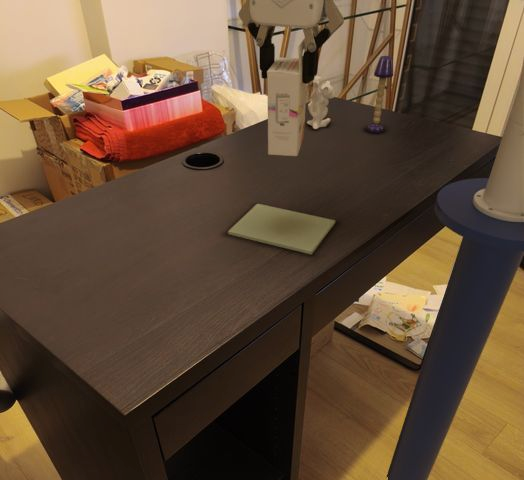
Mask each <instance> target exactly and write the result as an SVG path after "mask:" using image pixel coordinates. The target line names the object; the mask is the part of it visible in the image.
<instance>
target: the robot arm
mask: <svg viewBox="0 0 524 480" xmlns="http://www.w3.org/2000/svg"><path fill="white" fill-rule="evenodd" d="M238 17H239V19H240V20H241V22H242V23H243V25H245V27H247V30H248V33H249V34H250V35H251V36H252V38H253V39H254V40H255V44H256V46H257V47H258V48H259V49H258V51H259V52H258V53H259V54H258V55H259V59H258V61H259V62H258V63H259V70H260V71H261V72H260V73H261V75H260V76H261V79H267V71H268V70H269V68H270V67H271V66H272V64H273V63H274V62H275V61H276V58H275V57H276V55H275V54H276V46H275V43H272V42H273V37H274V33H275V29H276V27H280V28H294V29H302V31H303V35H304V38H305V40H306V44H307V51H305V52H304V51H303V53H302V56H303V75H302V82H303V83H304V84H307V85H308V84H309V83H311V82H312V81H314V77H315V76H318V75H317V74H318V70H319V58H320V57H319V54H320V49H321V48H322V47H323V46H324V44H325V43H326V42H327V41H328V40H329V39H330V38H331V37H332V35H333V34H334V33H335V32H337V31H338V30H339V28H340V27H341V26H343V24H344V23H345V18H344V16H343V14H342V13H341V11H340V10H339V8H338V6H337V4H335V2H334V0H246V1H245V3H244V4H243V5H242V7H241V8H240V9H239V11H238ZM327 18H328V23H327V24H326V25H325V26H324V27H323V28H322V29H320V25H319V24H321V23H323V22H325V21H326V20H327ZM488 178H489V179H488V182H487V185H486V188H485V189H482V190H480V191H478V192H476V194H475V195H474V198H473V204H474V206H475V207H476V209H477V210H479V211H480V212H482V213H483V214H485V215H487V216H490V217H492V218H496V219H499V220H503V221H509V222H524V58H523V60H522V66H521V73H520V79H519V83H518V87H517V91H516V94H515V97H514V101H513V104H512V107H511V110H510V113H509V117H508V119H507V122H506V124H505V128H504V131H503V134H502V137H501V140H500V143H499V146H498V149H497V152H496V155H495V159H494V162H493V164H492V167H491V171H490V174H489V176H488Z"/></svg>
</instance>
